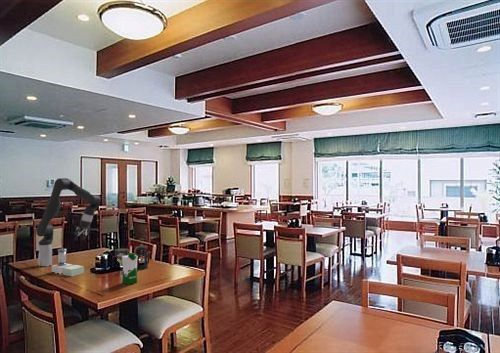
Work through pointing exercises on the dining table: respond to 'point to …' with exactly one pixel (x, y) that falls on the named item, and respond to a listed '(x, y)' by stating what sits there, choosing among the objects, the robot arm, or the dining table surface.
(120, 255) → the coffee can
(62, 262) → the cylinder
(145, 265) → the french press
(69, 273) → the stand
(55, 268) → the stand
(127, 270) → the milk carton
